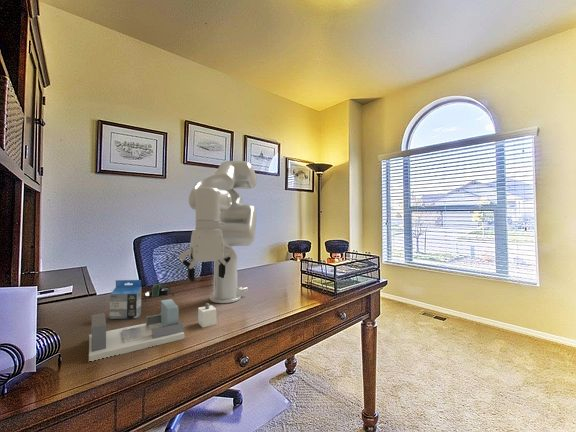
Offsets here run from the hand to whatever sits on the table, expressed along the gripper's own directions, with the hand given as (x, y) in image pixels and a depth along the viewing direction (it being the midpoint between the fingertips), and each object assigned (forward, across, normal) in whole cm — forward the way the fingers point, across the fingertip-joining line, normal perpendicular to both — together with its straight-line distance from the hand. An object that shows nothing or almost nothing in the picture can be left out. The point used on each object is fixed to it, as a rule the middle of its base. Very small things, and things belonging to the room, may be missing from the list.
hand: (207, 279), depth 89 cm
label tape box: (+15, +21, -22) cm, 33 cm away
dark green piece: (+15, +5, -44) cm, 47 cm away
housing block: (+15, 0, -1) cm, 15 cm away
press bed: (+13, +19, -1) cm, 23 cm away
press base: (+15, +20, -1) cm, 25 cm away
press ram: (+13, +11, -1) cm, 17 cm away
